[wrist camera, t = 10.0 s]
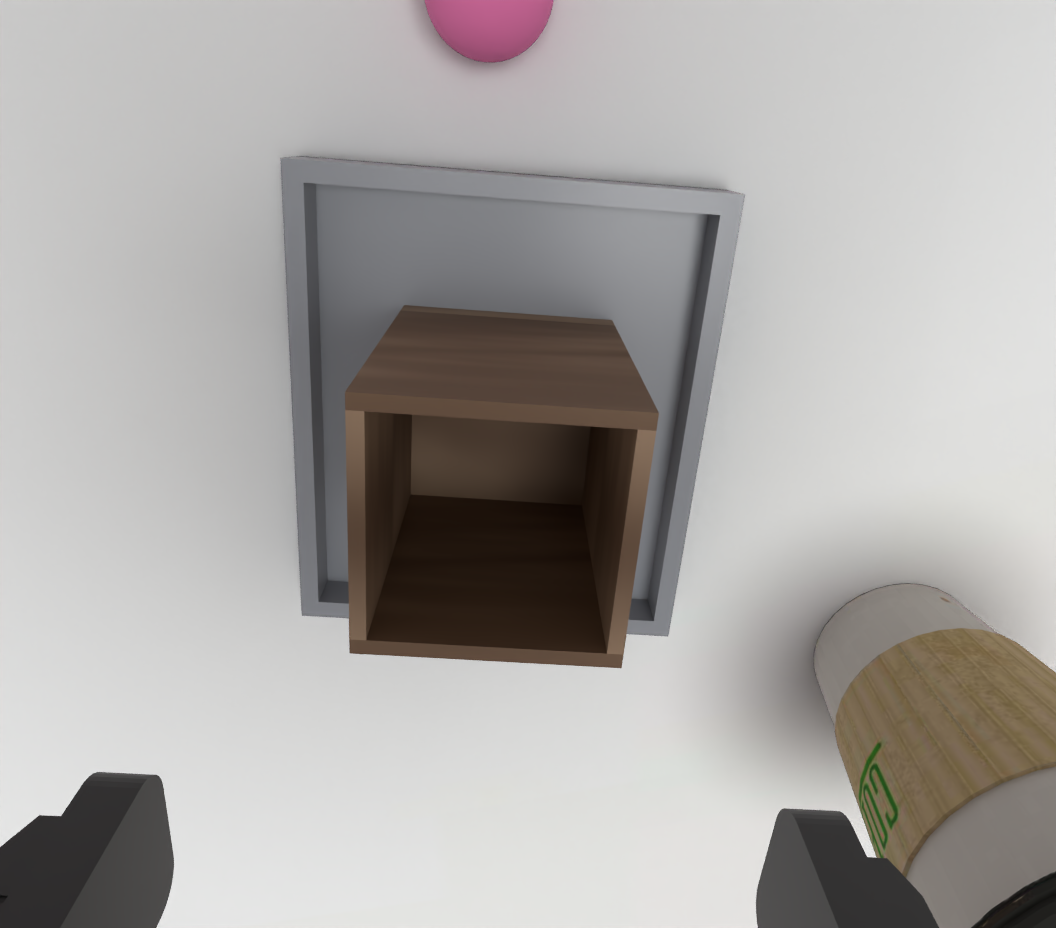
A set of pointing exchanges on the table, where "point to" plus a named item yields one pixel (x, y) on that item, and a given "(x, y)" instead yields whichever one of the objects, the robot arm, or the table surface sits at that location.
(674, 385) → the tray
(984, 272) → the table surface
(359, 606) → the pen cup
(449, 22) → the ball
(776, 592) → the table surface
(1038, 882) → the coffee cup
